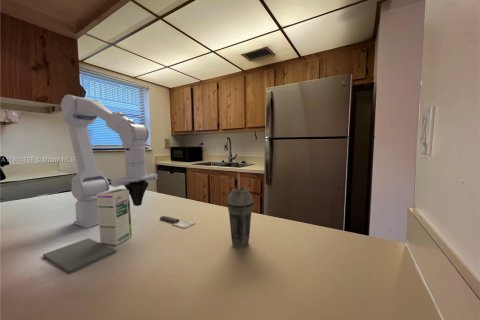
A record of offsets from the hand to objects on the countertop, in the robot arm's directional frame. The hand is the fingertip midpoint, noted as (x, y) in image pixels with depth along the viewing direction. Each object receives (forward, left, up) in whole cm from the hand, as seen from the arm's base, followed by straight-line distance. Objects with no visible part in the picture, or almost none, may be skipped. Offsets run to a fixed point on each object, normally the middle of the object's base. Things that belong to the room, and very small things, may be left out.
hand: (137, 205), depth 65 cm
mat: (0, -16, -8) cm, 18 cm away
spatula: (+5, +11, -8) cm, 15 cm away
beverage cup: (+33, +8, -9) cm, 35 cm away
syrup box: (0, -7, -9) cm, 11 cm away
